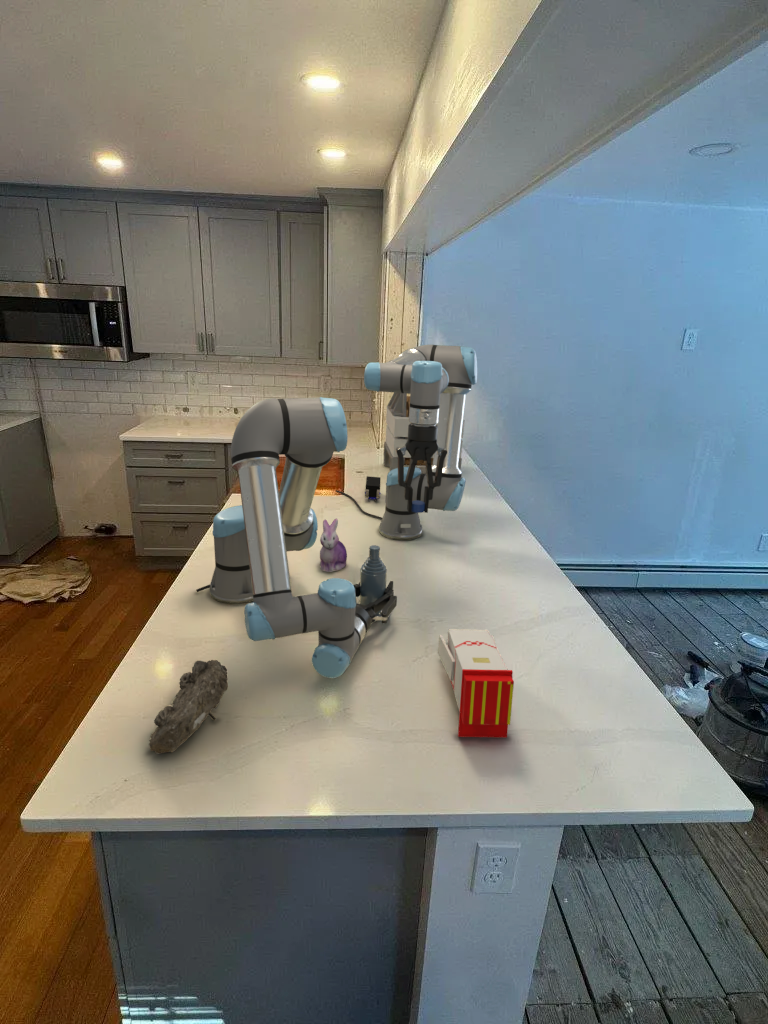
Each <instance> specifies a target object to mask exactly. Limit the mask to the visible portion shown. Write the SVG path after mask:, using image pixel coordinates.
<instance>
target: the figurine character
mask: <svg viewBox="0 0 768 1024" xmlns="http://www.w3.org/2000/svg"><path fill="white" fill-rule="evenodd" d="M364 490H365V491H364V498H365V499H367V502H370V501H371V500H374V502H375V503H376V502H377V501H378V500H377V499H380V495H381V476H368V475H367V476H366V479H365V489H364Z"/></svg>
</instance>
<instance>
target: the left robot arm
mask: <svg viewBox="0 0 768 1024" xmlns="http://www.w3.org/2000/svg"><path fill="white" fill-rule="evenodd" d="M348 439H349V438H348V425H347V419H346V415H345V411H344V407H343V406H342V404H341V402H340V401H339V400H338V399H336V398H334V397H333V398H332V397H323V396H319V397H296V398H294V397H292V398H275V397H273V398H266V399H263V400H260V401H258V402H256V403H254V404H253V405H252V406H250V407H249V408H248V409H247V410H246V411H245V413H243V415H242V416H241V418H240V419H239V421H238V423H237V424H236V428H235V430H234V433H233V436H232V440H231V444H230V445H231V446H230V461H231V468H232V469H233V470H234V471H236V472H237V475H238V482H239V491H240V498H241V499H240V500H241V505H234V506H230V507H227V508H224V509H222V510H221V511H219V512H217V514H216V515H215V516H214V517H213V520H212V537H213V549H214V563H215V564H214V570H213V573H212V577H211V580H210V583H209V584H207V585H204V586H202V587H198V588H197V589H196V590H195V591H196V593H199V592H202V591H205V590H207V589H209V594H210V596H211V598H212V599H213V600H215V601H217V602H220V603H224V604H229V605H230V604H231V605H238V604H239V605H240V604H245V606H244V611H243V612H244V615H243V616H244V624H245V626H244V627H245V631H246V634H247V637H248V639H249V640H251V641H252V642H261V641H268V640H269V641H270V640H273V641H274V640H276V639H280V638H285V637H290V636H296V635H301V634H308V633H314V632H318V642H317V643H318V644H317V646H316V647H315V648H314V650H313V653H312V655H311V665H312V667H313V669H314V671H316V673H317V674H319V675H320V676H322V677H324V678H328V679H336V678H339V677H341V676H342V675H343V674H344V673H345V672H346V670H347V669H348V668H349V666H350V665H351V662H352V661H353V658H354V656H355V655H356V653H357V651H358V649H359V647H360V646H361V644H362V642H363V640H364V638H365V636H366V635H367V634H368V632H369V629H370V628H371V626H372V624H373V623H375V622H376V621H381V623H382V624H383V625H384V624H387V623H388V618H389V617H390V615H391V614H392V612H393V611H394V610H395V608H396V607H397V605H398V596H397V595H394V593H395V590H394V581H393V580H390V581H389V582H388V584H387V585H386V589H385V591H384V596H382V597H381V598H379V599H378V600H376V601H374V602H373V603H372V602H370V603H369V604H367V605H362V604H359V602H357V598H360V581H359V582H358V583H355V584H353V583H352V582H351V581H349V580H348V579H345V578H340V577H331V578H328V579H326V580H323V581H321V582H320V583H319V585H318V589H317V592H315V593H309V594H302V595H295V596H293V593H292V585H291V584H292V582H291V575H290V568H289V560H288V553H287V552H300V551H303V550H307V549H311V548H312V547H313V546H314V544H315V543H316V540H317V537H318V527H319V525H318V524H319V523H318V519H317V518H318V517H317V514H316V511H315V510H314V509H313V508H312V503H313V500H314V497H315V492H316V489H317V487H318V483H319V479H320V476H321V473H322V469H323V467H325V466H326V465H328V463H330V461H331V460H332V458H333V455H334V453H336V452H337V453H340V452H344V451H345V450H346V449H347V447H348ZM280 455H282V456H283V455H284V457H285V460H284V461H285V462H284V466H283V471H282V477H281V481H280V485H279V484H278V476H277V467H278V466H279V465H280V463H281V459H280ZM381 609H382V611H380V610H381ZM378 611H380V613H379V614H377V615H376V613H377V612H378Z"/></svg>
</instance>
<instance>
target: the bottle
mask: <svg viewBox="0 0 768 1024" xmlns="http://www.w3.org/2000/svg"><path fill="white" fill-rule="evenodd" d="M368 550H369V551H368V552H369V553H368V557H367V558H366V560H365V561H364V562H363V563H362V564H361V566H360V568H359V569H360V570H359V571H360V573H359V582H360V596H359V597H358V598H359V601H358V604H362V605H367V604H369V603H370V602H372V603H373V602H374V601H376V600H378V599H379V598H381V597H382V596H384V591H385V589H386V588H387V573H388V569H387V565H386V564H385V563H384V561H383V560H382V559H381V557H380V551H381V547H380V546H379V545H376V544H372V545H369V547H368ZM380 611H382V609H381V610H380ZM380 611H378V612H377V613H376V615H377V614H379V613H380Z"/></svg>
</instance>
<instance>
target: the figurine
mask: <svg viewBox="0 0 768 1024" xmlns="http://www.w3.org/2000/svg"><path fill="white" fill-rule="evenodd" d="M338 524H339V518H334V520H333V521H332V522H331V523H330V524H329V522H328V520H327V519H325V518H324V519H323V521H322V534H321V535H320V539H319V542H320V544H321V548H320V550H319V559H320V562H319V566H320V571H322V572H327V573H329V572H330V573H332V572H335V571H336V572H337V571H341V570H342V569H343V568H346V565H347V559H348V554H347V553H348V552H347V549H346V546H345V544H343V542H342V541H341V540H340V538H339V535H338V534H337V528H338Z"/></svg>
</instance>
